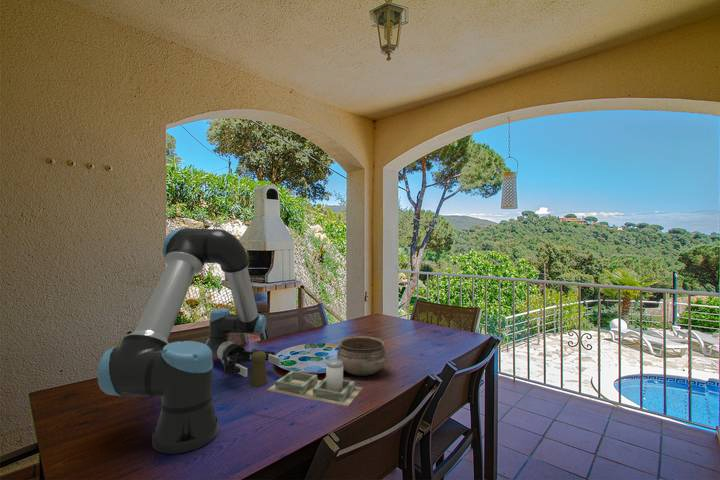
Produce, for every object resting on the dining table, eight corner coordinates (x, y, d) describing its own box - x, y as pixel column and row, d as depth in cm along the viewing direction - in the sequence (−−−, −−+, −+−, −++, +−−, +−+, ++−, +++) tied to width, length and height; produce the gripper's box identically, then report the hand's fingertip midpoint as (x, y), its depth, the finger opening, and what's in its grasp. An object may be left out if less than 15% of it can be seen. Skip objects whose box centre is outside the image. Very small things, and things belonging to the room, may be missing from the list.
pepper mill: (261, 387, 117) (262, 355, 117) (246, 385, 118) (246, 354, 118) (270, 380, 123) (270, 350, 123) (254, 378, 124) (255, 348, 124)
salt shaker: (338, 397, 108) (339, 365, 108) (322, 394, 110) (323, 363, 110) (345, 390, 114) (346, 359, 114) (330, 387, 115) (330, 357, 115)
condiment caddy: (347, 410, 103) (347, 398, 103) (266, 393, 113) (266, 382, 113) (362, 391, 116) (362, 380, 116) (288, 377, 126) (288, 367, 126)
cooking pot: (402, 377, 129) (402, 344, 129) (367, 392, 115) (368, 356, 115) (356, 359, 147) (357, 331, 147) (321, 370, 133) (322, 339, 133)
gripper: (259, 355, 142) (291, 368, 128) (199, 372, 123) (230, 389, 109) (259, 337, 142) (292, 348, 128) (199, 351, 123) (230, 366, 109)
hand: (263, 367), depth 119 cm, fingers open, 13 cm apart
